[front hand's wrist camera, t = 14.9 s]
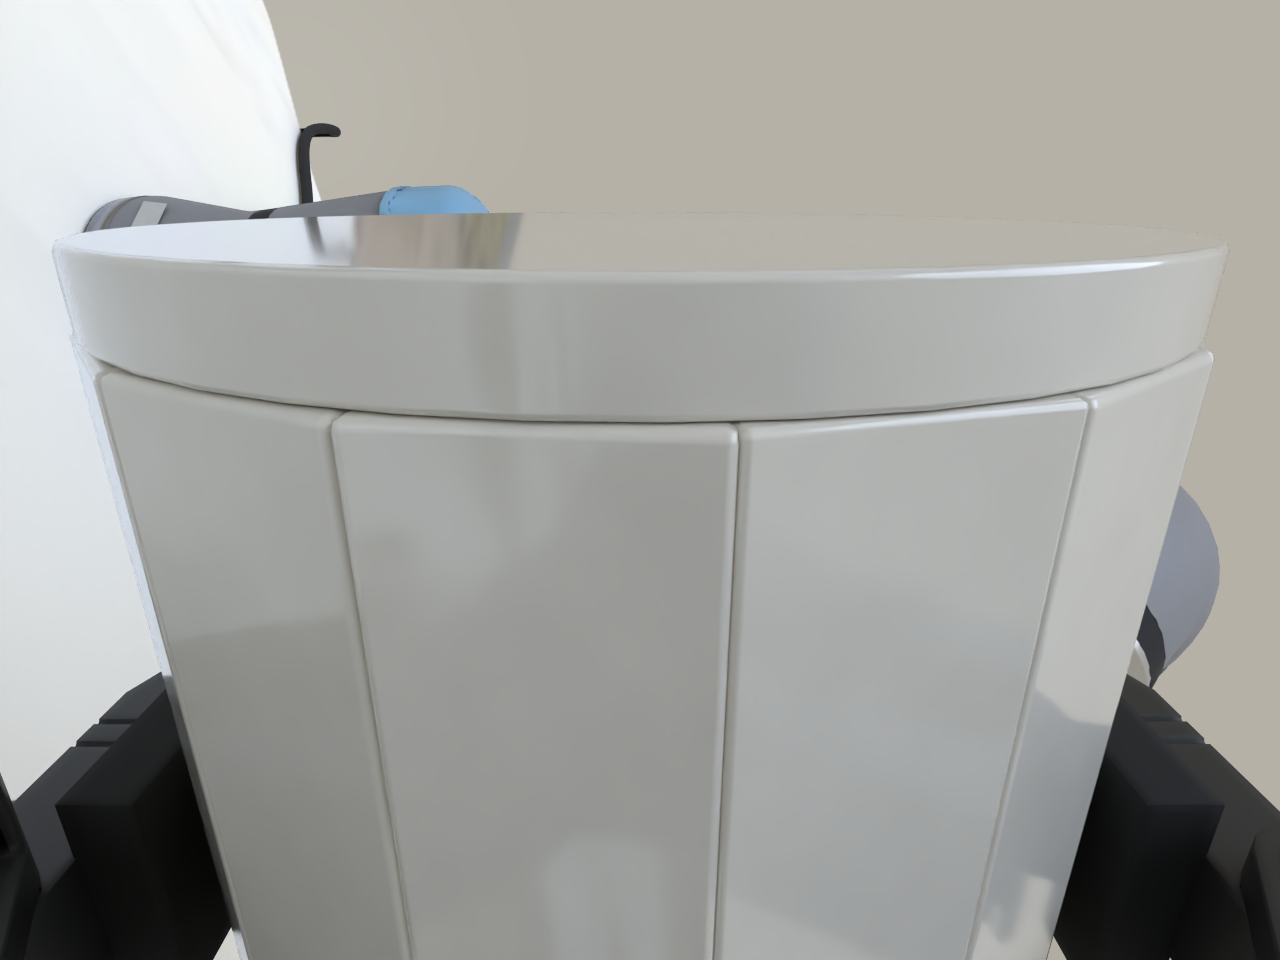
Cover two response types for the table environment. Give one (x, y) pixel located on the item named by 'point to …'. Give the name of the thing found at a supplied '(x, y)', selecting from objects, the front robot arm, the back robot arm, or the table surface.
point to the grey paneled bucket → (643, 565)
